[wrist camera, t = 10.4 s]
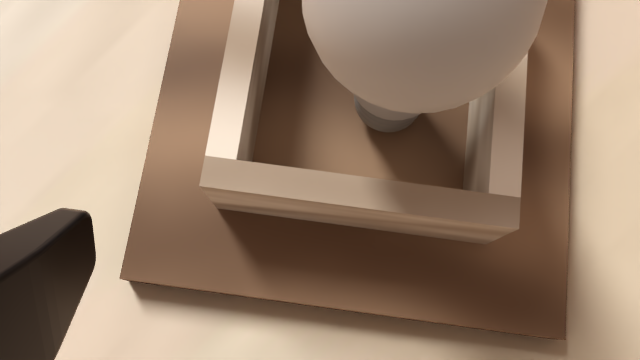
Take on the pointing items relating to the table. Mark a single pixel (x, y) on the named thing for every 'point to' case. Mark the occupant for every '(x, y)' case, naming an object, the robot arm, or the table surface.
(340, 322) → the table surface
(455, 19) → the lightbulb
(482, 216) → the socket board
